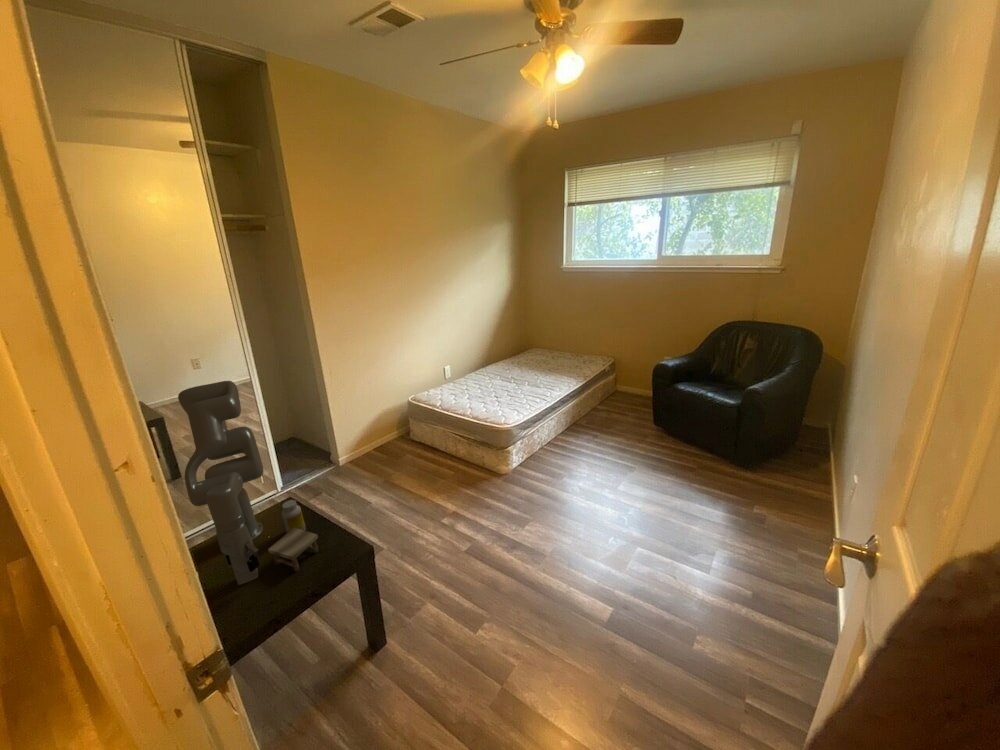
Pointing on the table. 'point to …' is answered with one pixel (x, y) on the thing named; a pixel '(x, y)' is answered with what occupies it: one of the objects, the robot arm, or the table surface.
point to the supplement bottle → (292, 516)
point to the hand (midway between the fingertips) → (244, 565)
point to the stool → (293, 547)
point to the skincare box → (243, 569)
